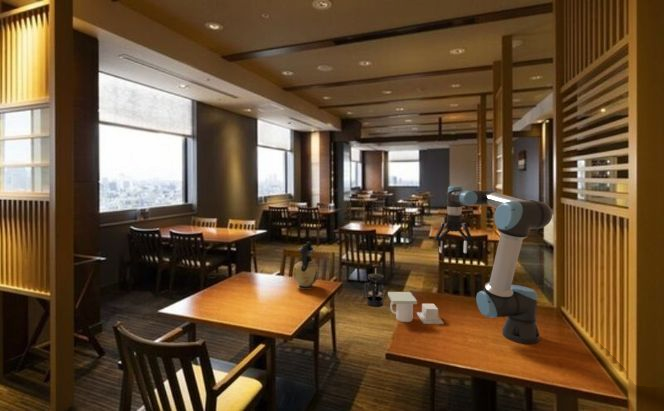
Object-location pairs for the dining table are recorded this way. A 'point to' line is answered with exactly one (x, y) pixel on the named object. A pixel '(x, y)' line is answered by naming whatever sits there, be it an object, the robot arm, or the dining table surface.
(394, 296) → the white flat slab
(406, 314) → the cup
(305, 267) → the amphora
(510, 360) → the dining table surface
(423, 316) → the white butter dish
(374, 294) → the french press
